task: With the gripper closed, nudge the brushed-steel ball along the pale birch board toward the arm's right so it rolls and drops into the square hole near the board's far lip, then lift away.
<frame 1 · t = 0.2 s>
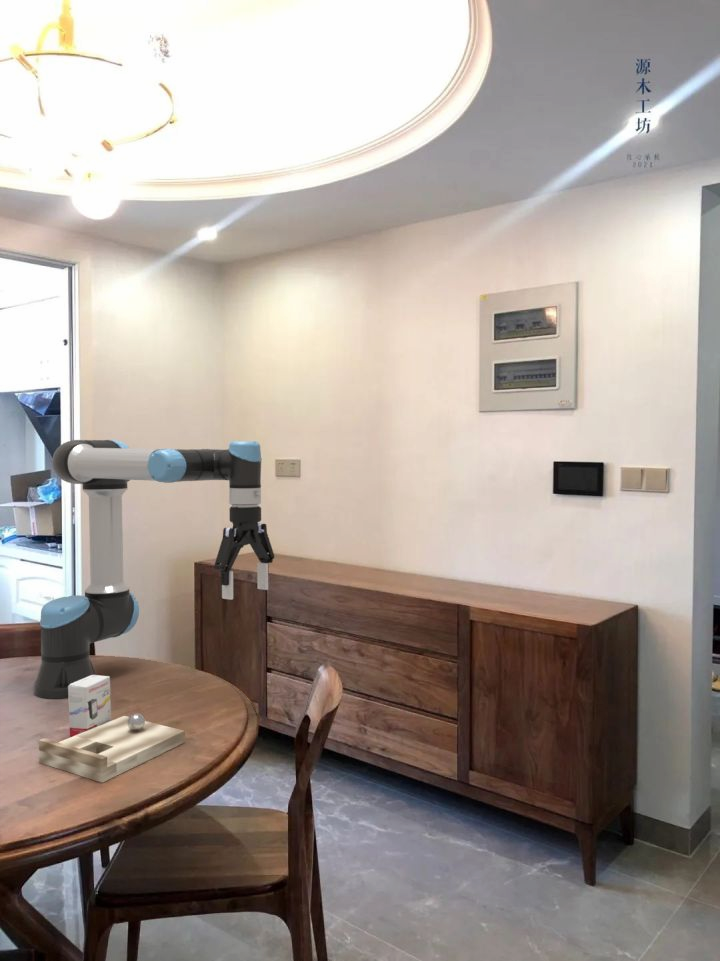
hand: (245, 594, 178), 28 cm above the table, fingers open, 13 cm apart
ink box: (90, 734, 163), on the table
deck: (114, 752, 152), on the table
ball: (136, 722, 157), point 4 cm above the table, touching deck
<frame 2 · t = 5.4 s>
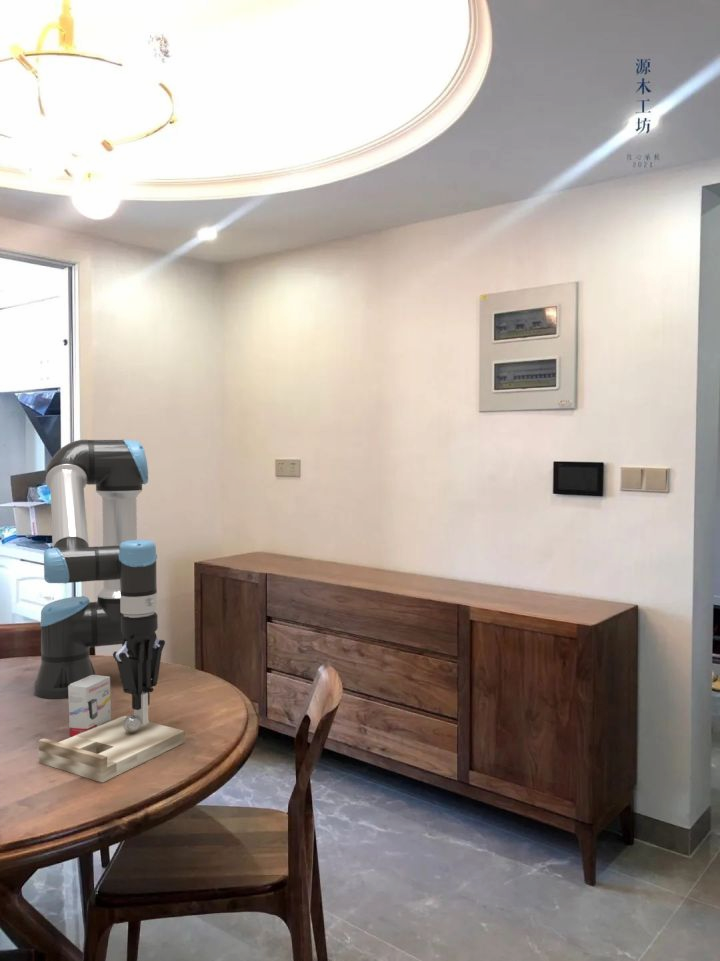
hand: (141, 722, 158), 4 cm above the table, fingers closed
ball: (132, 724, 156), point 4 cm above the table, tilted 38°, touching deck, gripper
everything else where it was.
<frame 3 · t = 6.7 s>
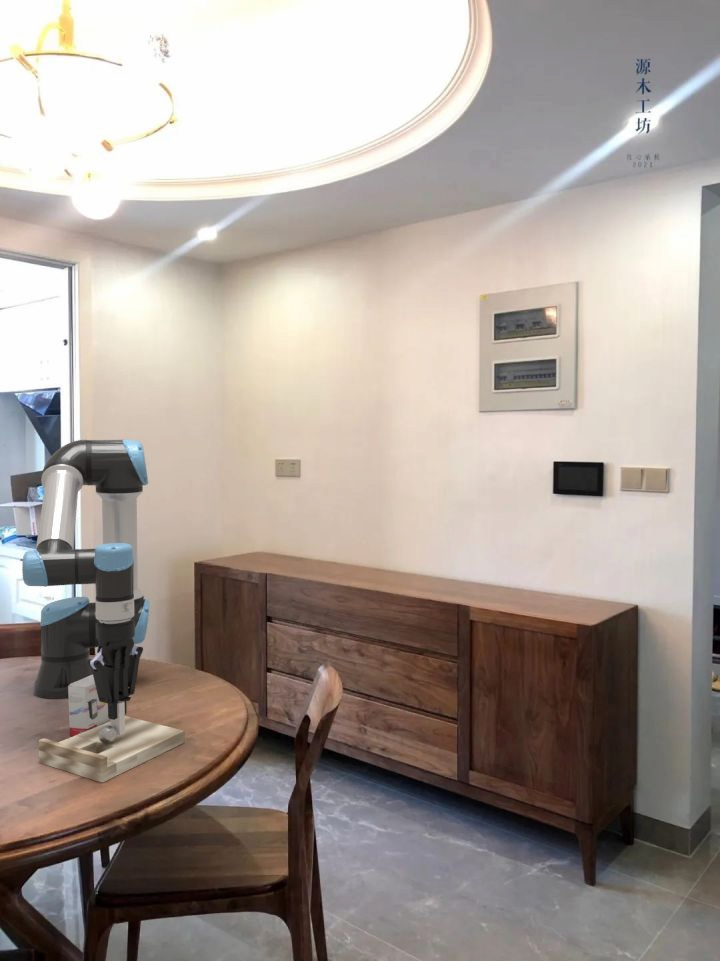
hand: (117, 732, 153), 4 cm above the table, fingers closed
ball: (107, 734, 151), point 4 cm above the table, tilted 146°, touching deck, gripper
everything else where it was.
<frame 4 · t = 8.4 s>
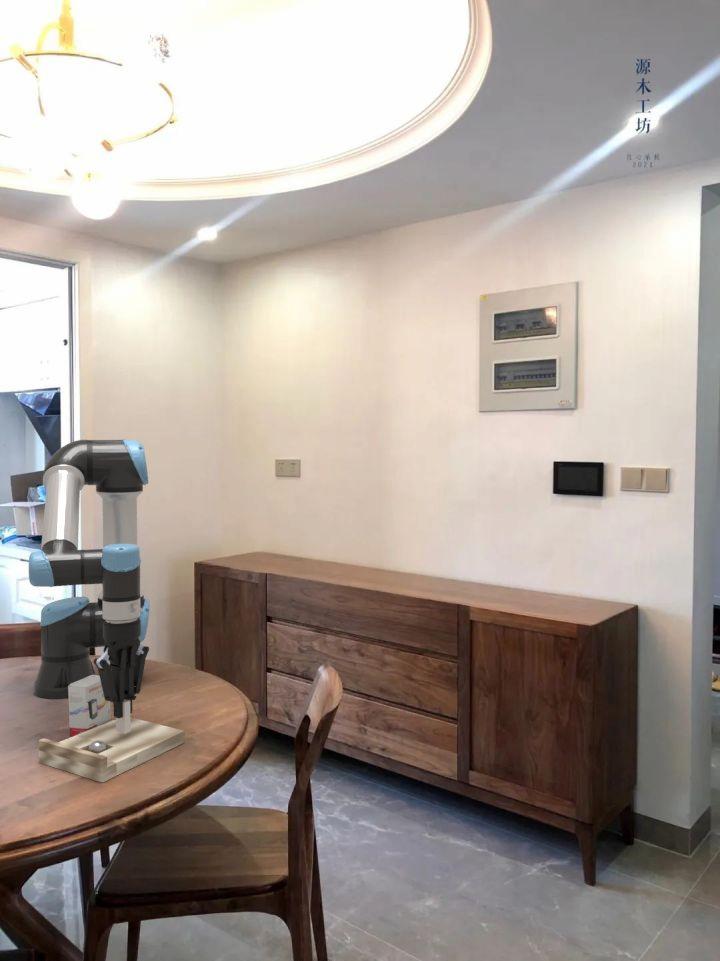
hand: (123, 731, 155), 3 cm above the table, fingers closed
ball: (97, 749, 149), point 2 cm above the table, tilted 42°, touching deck
everything else where it was.
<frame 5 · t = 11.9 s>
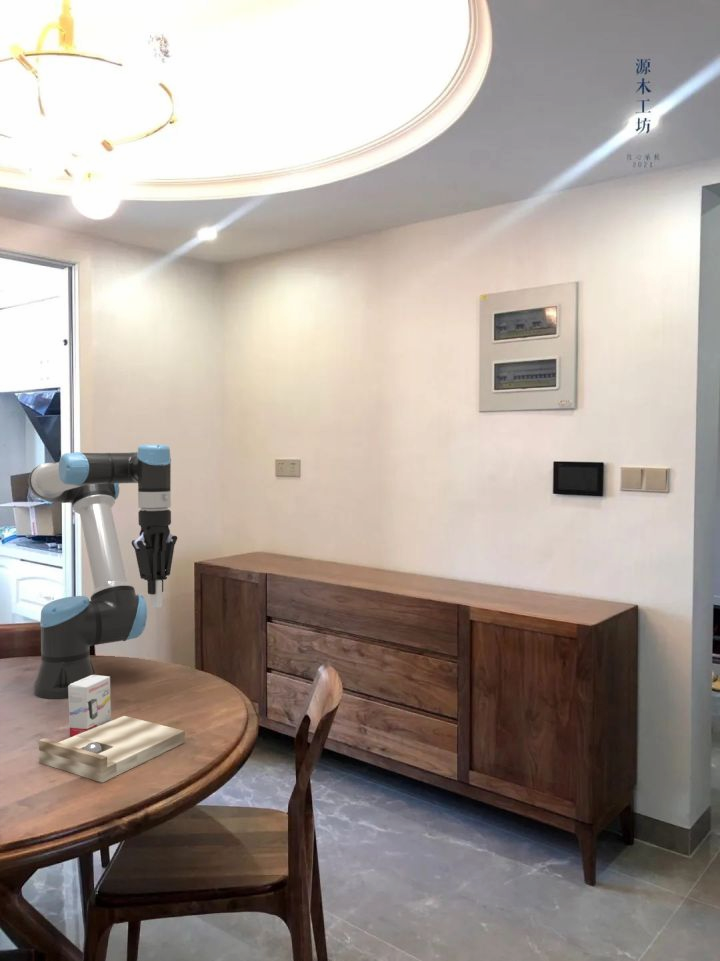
hand: (155, 606, 178), 24 cm above the table, fingers closed
ball: (92, 751, 148), point 2 cm above the table, touching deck
everything else where it was.
at the end: ball 0.5 cm from the target spot on the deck, point 2.0 cm above the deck's base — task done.
